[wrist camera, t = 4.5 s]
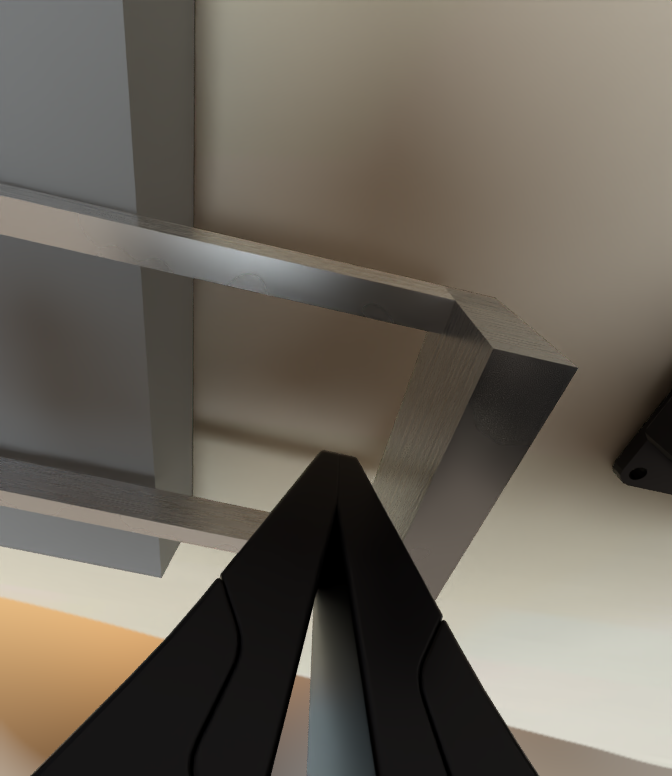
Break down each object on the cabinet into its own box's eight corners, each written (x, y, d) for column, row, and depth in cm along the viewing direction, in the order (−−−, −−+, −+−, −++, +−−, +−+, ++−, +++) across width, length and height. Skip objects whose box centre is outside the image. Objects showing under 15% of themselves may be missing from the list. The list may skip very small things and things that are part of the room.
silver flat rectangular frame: (495, 297, 7) (578, 367, 4) (384, 550, 10) (390, 671, 8) (-497, 67, 6) (-1159, -27, 3) (-236, 423, 10) (-455, 508, 7)
